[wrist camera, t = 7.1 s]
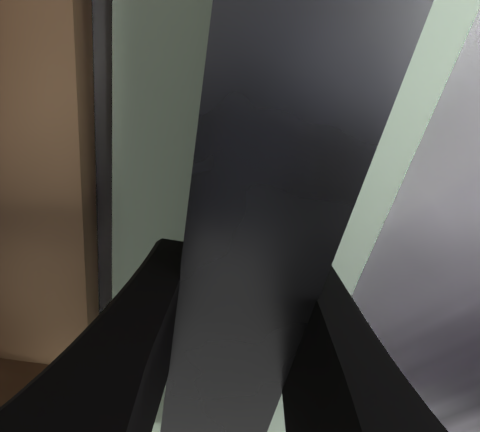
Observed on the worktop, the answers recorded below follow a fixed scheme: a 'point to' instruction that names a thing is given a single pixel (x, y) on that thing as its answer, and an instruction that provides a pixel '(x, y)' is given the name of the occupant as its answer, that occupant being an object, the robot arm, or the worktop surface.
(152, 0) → the mat
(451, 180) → the worktop surface
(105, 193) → the worktop surface
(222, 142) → the rail
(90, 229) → the hook stands
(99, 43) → the worktop surface
